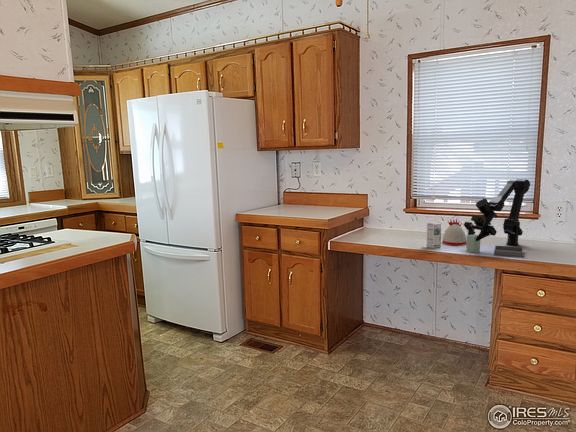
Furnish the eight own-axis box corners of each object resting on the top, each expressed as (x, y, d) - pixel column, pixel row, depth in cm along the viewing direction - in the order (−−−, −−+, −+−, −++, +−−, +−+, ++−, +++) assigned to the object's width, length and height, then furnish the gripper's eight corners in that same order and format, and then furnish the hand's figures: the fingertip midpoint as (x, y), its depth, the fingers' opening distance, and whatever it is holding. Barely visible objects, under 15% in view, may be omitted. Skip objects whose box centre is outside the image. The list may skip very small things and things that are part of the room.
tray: (494, 249, 255) (495, 245, 255) (522, 251, 249) (522, 247, 249) (494, 255, 243) (494, 250, 243) (523, 257, 237) (523, 252, 237)
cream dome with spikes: (442, 240, 284) (443, 216, 282) (466, 241, 280) (467, 217, 277) (442, 244, 271) (443, 220, 269) (466, 246, 267) (467, 221, 264)
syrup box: (433, 248, 262) (433, 223, 260) (426, 246, 267) (426, 222, 265) (440, 247, 264) (441, 223, 262) (433, 245, 269) (434, 221, 267)
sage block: (466, 250, 254) (467, 235, 253) (472, 249, 257) (473, 234, 255) (473, 252, 250) (474, 236, 249) (479, 251, 252) (480, 235, 251)
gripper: (466, 207, 260) (451, 228, 256) (494, 211, 243) (479, 233, 240) (475, 220, 264) (461, 240, 261) (503, 224, 248) (488, 246, 245)
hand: (471, 239), depth 252 cm, fingers open, 6 cm apart
